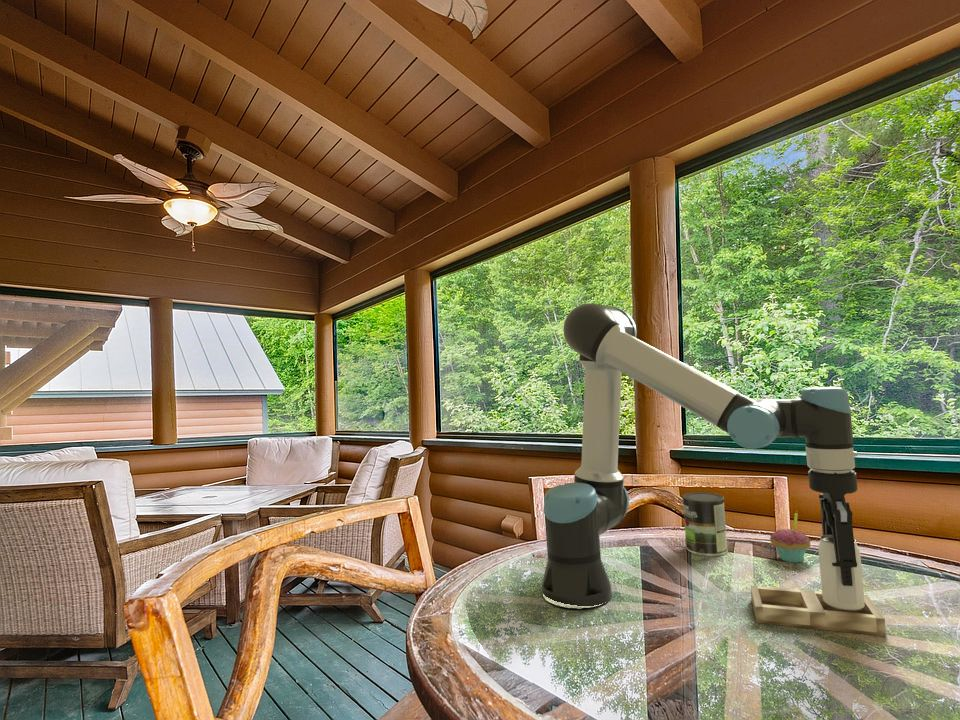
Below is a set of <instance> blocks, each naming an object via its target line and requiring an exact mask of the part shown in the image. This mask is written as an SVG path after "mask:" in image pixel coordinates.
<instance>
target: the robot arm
mask: <svg viewBox="0 0 960 720" xmlns="http://www.w3.org/2000/svg"><path fill="white" fill-rule="evenodd" d="M637 335H638V333H637V325H636V322H635V321H634V319H633V317H632V316H631V315H630V314H629V313H628V312H626V311H625V310H623V309H621V308H619V307H616V306H612V305H611V306H609V305H602V304H598V303H592V302H591V303H583V304H580V305H578V306H576V307H575V308H573V309H571V311H570V312H568V314H567V315H566V317H565V320H564V323H563V337H564V339H565V341H566V344H567V345H568V346H569V348H571V349H572V350H573V351H574V352H576V353H578V355H579V357H578V358H579V361H578V362H579V363H580V364H581V365H582V367H584V389H583V390H584V393H583V395H584V396H583V417H582V418H583V419H582V440H581V443H582V445H581V464H580V466H579V468H578V469H576V470H575V471H574V478H573V479H574V480H573V482H568V483H567V482H566V483H563V484H558V485H555V486H553V487H551V488H549V489H548V490H547V491H546V493H545V494H544V501H543V502H544V503H543V515H544V523H545V525H544V527H545V537H546V538H545V539H546V551H547V553H546V554H547V561H546V562H547V563H546V566H545V569H544V573H543V578H542V583H541V593H542V592H543V594H544V595H545V596H546V597H548V598H550V599H552V600H554V601H557V602H561V603H564V604H570V605H577V606H594V605H599V604H602V603H605V602H607V601H608V602H610V601H611V599H612V597H613V595H612V585H611V581H610V578H609V577H608V574H607V571H606V569H605V566H604V564H603V561H602V556H601V555H602V554H601V542H600V536H601V535H603V534H604V533H606V532H607V531H609V530H610V529H612V528H614V527H616V526H617V525H619V524H620V523H621V522H622V520H623V519H624V518H625V517H626V515H627V514H628V513H627V512H628V511H629V507H630V497H629V493H628V491H627V488H625V486H624V475H623V474H622V472H620V470H619V469H618V467H619V465H618V464H619V462H618V461H619V443H620V441H619V440H620V439H619V438H620V422H621V421H620V420H621V419H620V416H621V396H622V393H621V392H622V373H623V374H625V375H626V376H628V377H629V378H632V379H633V380H635V381H637V382H638V383H640V384H642V385H644V386H646V387H647V388H649V389H651V390H652V391H655V392H656V393H658V394H660V395H661V396H663V397H665V398H667V399H668V400H670V401H672V402H673V403H675V404H677V405H678V406H681V407H682V408H684V409H686V410H688V411H689V412H690V413H693V414H694V415H696V416H697V417H700V418H701V419H703V420H705V421H706V422H708V423H710V424H712V425H713V426H715V427H717V428H719V429H720V430H722V431H724V432H725V433H727V434H728V435H729V436H730V438H731V440H732V441H733V442H734V443H735V444H737V445H738V446H740V447H742V448H746V449H750V450H754V449H761V448H764V447H767V446H770V445H771V443H774V441H776V439H777V438H804V439H805V455H806V464H807V467H808V468H809V470H808V472H807V474H808V484H809V485H808V486H809V489H810V490H811V491H813V492H817V493H819V494H818V499H819V505H820V517H821V530H822V531H821V532H822V536H823V535H832V536H833V543H834V549H835V556H836V563H832V566H835V571H836V583H837V594H838V601H839V602H845V603H856V604H857V598H856V587H855V576H854V567H857V562H856V554H855V545H854V539H855V538H854V527H853V511H852V510H851V508H850V503H849V502H847V501H846V497H845V496H846V495H847V494H854V493H856V492H857V491H858V479H857V478H858V477H857V472H855V470H854V469H855V468H856V463H855V462H856V461H855V460H856V459H855V458H856V457H858V455H859V452H857V451H854V438H853V437H854V436H853V423H852V410H851V405H850V399H849V393H848V391H847V390H846V389H845V388H843V387H841V386H821V387H820V386H818V387H806V388H803V389H802V390H801V392H800V393H801V394H800V397H797V398H792V399H791V398H790V399H789V398H787V399H785V398H783V399H782V398H781V399H780V398H779V399H778V398H776V399H774V398H771V399H770V398H769V399H767V398H766V399H756V398H750V397H749V396H747V395H745V394H742V393H740V392H739V391H737V390H735V389H733V388H731V387H729V386H728V385H726V384H724V383H723V382H720V381H718V380H717V379H715V378H712V377H711V376H709V375H708V374H705V373H703V372H702V371H699V370H698V369H696V368H693V367H692V366H690V365H688V364H686V363H684V362H682V361H680V360H678V359H677V358H674V357H673V356H671V355H669V354H667V353H665V352H663V351H662V350H660V349H657V348H656V347H654V346H652V345H650V344H648V343H646V342H644V341H643V340H640V339H639V338H637ZM608 602H607V603H608Z"/></svg>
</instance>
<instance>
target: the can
mask: <svg viewBox="0 0 960 720" xmlns="http://www.w3.org/2000/svg"><path fill="white" fill-rule="evenodd" d="M819 539H820V540H819V543H818V545H817V547H818V549H817V551H818V561H819V572H820V574H819V575H820V586H821V592H822V596H823V601H824V602H825V603H826V604H827V605H829V606H830V607H833V608H836V609H839V610H844V611H859V610H861V609H862V608H863V607H864V606H865V601H864V595H865V592H864V590H865V589H864V579H863V569H862V559H861V558H862V557H861V551H860V548H859V546H858V544H857V540H856V539H855V538H854V545H855V554H856V562H857V567H854V576H855V587H856V598H857V604H856V603H845V602H839V601H838V594H837V583H836V571H835V566H832V563H836V556H835V549H834V543H833V536H832V535H823V534H822V535H821V536H819Z"/></svg>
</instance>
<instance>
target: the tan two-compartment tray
mask: <svg viewBox="0 0 960 720" xmlns="http://www.w3.org/2000/svg"><path fill="white" fill-rule="evenodd" d="M749 586H750V600H751V604H752V608H753V612H754V616H755V617H754V618H755V622H756V623H758V624H769V625H776V626H777V625H778V626H787V627H797V628H805V629H813V630H814V629H815V630H823V631H832V632H833V631H834V632H842V633H852V634H862V635H870V636H879V637H887V632H886V619H885V617H884V616H883V615H882V613H881V612H880V610H879V609H878V608H877V606H876V605H875V604H874V603H873V601H872V600H871V598H870V597H869V595H867V594H864V601H865V606H864V607H863V608H862V609H861V610H859V611H844V610H839V609H836V608H833V607H830V606H829V605H827V604H826V603H825V602H824V601H823V596H822V590H821V591H820V590H819V591H818V590H810V589H809V590H808V589H798V588H797V589H796V588H783V587H772V586H761V585H759V586H758V585H749Z"/></svg>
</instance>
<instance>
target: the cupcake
mask: <svg viewBox="0 0 960 720" xmlns="http://www.w3.org/2000/svg"><path fill="white" fill-rule="evenodd" d="M798 517H799V515H798V510H796V512H795V513H794V517H793V527H792V528H788V529H786V528H785V529H782V528H781V529H778V530H776V531H774V532H772V533H771V535H770V538H769V541H770V543H771V544H772V545H773V546H775V548H776V551H777V553H778V555H779V557H780V559H781V560H782V561H785V562H789V563H802V562H803V561H804V557H805V554H806V551H807V549H809V548H811V538H809V537H808V536H807V535H806V534H805V533H803V532H801V531H798V530H797V525H798Z"/></svg>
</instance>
